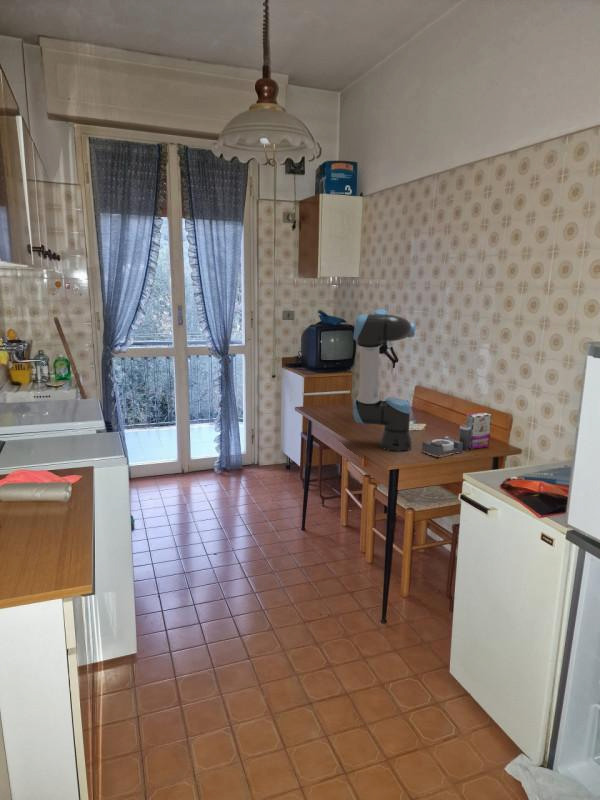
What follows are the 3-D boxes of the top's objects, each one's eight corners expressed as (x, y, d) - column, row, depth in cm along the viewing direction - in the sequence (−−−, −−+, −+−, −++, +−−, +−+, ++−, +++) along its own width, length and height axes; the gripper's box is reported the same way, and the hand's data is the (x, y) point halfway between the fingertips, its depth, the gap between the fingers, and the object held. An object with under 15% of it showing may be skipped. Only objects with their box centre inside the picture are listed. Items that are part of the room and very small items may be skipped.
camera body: (437, 458, 244) (438, 445, 243) (421, 452, 252) (422, 440, 251) (462, 452, 253) (463, 440, 251) (445, 447, 261) (446, 435, 260)
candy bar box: (481, 444, 266) (484, 412, 262) (489, 447, 261) (492, 414, 258) (463, 446, 262) (466, 414, 258) (470, 449, 257) (473, 416, 253)
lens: (464, 451, 255) (466, 427, 252) (456, 448, 259) (458, 425, 256) (470, 449, 257) (472, 426, 255) (463, 446, 261) (464, 423, 259)
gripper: (404, 335, 293) (402, 370, 303) (358, 334, 298) (358, 368, 309) (403, 341, 286) (401, 376, 297) (356, 339, 291) (356, 374, 302)
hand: (379, 372), depth 303 cm, fingers open, 13 cm apart
